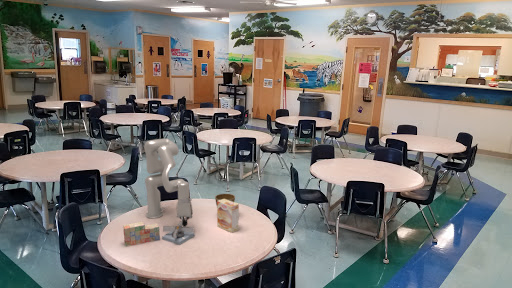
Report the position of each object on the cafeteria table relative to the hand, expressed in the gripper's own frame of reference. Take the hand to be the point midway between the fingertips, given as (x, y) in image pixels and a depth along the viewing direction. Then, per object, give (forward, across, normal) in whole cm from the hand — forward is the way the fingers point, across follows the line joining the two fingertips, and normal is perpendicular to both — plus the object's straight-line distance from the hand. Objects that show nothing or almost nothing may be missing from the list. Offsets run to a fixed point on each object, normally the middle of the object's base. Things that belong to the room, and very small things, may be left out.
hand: (185, 225), depth 250 cm
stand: (+5, +2, +7) cm, 9 cm away
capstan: (+3, +2, +7) cm, 8 cm away
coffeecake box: (+6, -26, -14) cm, 30 cm away
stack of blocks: (+5, +23, +17) cm, 29 cm away
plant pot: (+6, -19, -33) cm, 39 cm away
